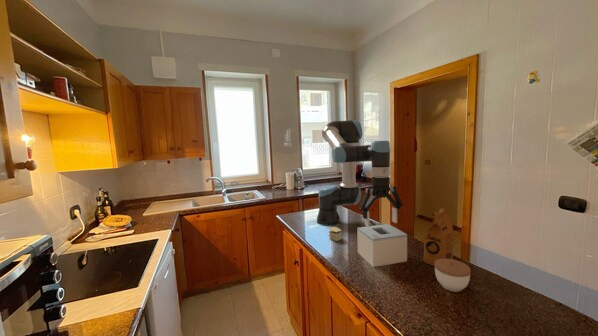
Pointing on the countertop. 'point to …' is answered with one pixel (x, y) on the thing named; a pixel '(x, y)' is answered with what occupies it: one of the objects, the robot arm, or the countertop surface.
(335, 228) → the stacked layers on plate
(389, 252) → the slot box
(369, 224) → the fossil
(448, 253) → the coffee package
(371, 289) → the countertop surface
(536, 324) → the countertop surface
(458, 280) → the lidded jar
